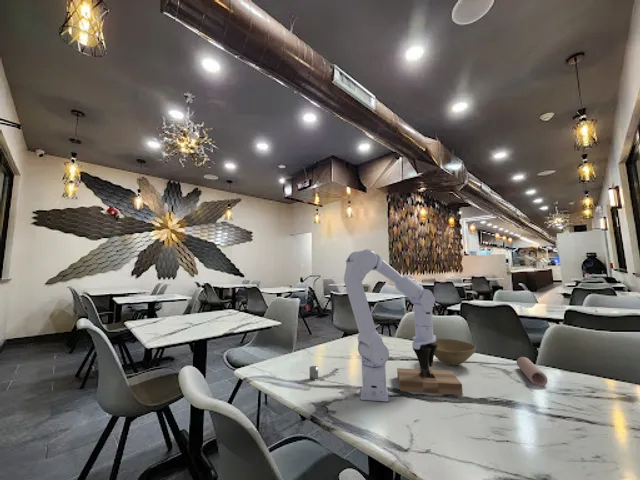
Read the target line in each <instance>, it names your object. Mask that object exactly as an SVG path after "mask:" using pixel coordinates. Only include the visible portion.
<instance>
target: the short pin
mask: <svg viewBox="0 0 640 480" xmlns="http://www.w3.org/2000/svg"><path fill="white" fill-rule="evenodd" d="M310 379H311V380H315V379H318V380H319V367H318V365H317V366H316V365H312V366H309V380H310ZM311 380H310V381H311Z"/></svg>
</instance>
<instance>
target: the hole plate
mask: <svg viewBox="0 0 640 480" xmlns="http://www.w3.org/2000/svg"><path fill="white" fill-rule="evenodd" d="M396 373H397V381H398V386H399V390H400V392H407V393H408V392H410V393H411V392H412V393H427V394H428V393H429V394H442V395H443V394H445V395H463V383H461V381H460V379H458V377H457V376H456V375H455V374H454V372H453V371H452V370H445V369H444V370H443V369H430V376H429V377H423V376H421V373H420V368H401V367H400V368H399V367H398V368H396Z"/></svg>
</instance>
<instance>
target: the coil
mask: <svg viewBox="0 0 640 480" xmlns="http://www.w3.org/2000/svg"><path fill="white" fill-rule="evenodd" d="M516 365H517V367H518V368H519V369H520V370H521V371H522V373H523V374H524V376H526V378H528V379H529V381H530V382H531V383H532V384H533V385H536V386H537V387H545V386H546V385H547V383H548V377H547V376H546V374H545V373H544V372H543V371H542V370H540V368H539V367H537V365H536V364H534V363H533V362H532V361H531V359H529V358H528V357H525V356H520V357H518V358H517V359H516Z"/></svg>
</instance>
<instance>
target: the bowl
mask: <svg viewBox="0 0 640 480" xmlns="http://www.w3.org/2000/svg"><path fill="white" fill-rule="evenodd" d="M433 343H435V344H437V348H436V350H435V353H434V357H435V358H437V359H436V360H438V361H440V362H441V363H443V364H444V365H448V366H453V367H455V366H460V365H462V364H463V363H465V362H466V361H467V360H468V359H470V357H472V356H473V355H474V353H476V350H477V347H476V345H474V344H471V343H470V342H466V341H462V340H458V339H450V338H445V339H444V338H436V341H435V342H433Z"/></svg>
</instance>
